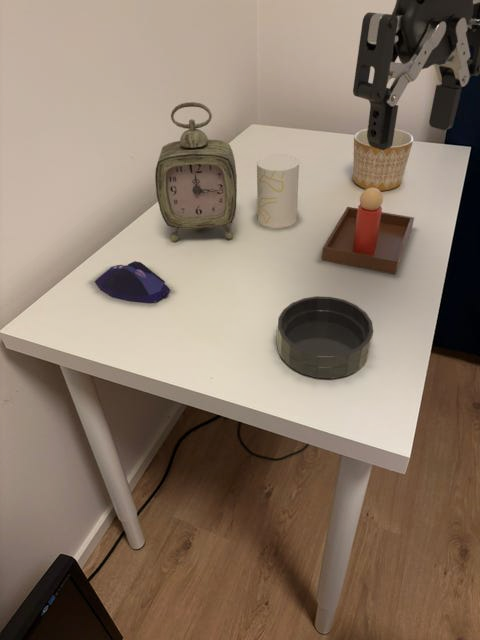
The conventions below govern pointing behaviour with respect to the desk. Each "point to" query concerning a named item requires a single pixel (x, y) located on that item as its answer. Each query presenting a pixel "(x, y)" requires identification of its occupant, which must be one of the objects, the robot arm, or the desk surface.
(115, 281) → the computer mouse
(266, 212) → the white cylinder
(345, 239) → the tray
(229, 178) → the tabletop clock
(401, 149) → the planter
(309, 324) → the pan
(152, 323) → the desk surface
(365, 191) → the doll
